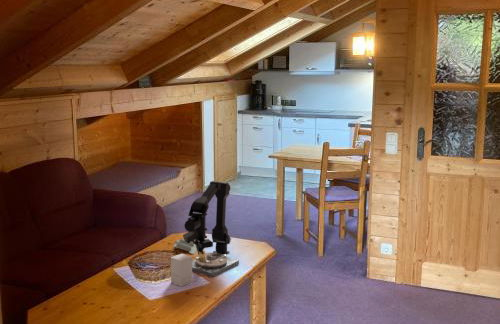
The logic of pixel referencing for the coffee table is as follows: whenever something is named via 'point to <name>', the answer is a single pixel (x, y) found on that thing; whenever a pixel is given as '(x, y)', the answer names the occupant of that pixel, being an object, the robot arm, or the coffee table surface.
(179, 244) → the metal bracket
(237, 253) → the coffee table surface
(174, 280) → the supplement box
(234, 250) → the coffee table surface
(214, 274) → the base plate
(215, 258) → the silver round platform
